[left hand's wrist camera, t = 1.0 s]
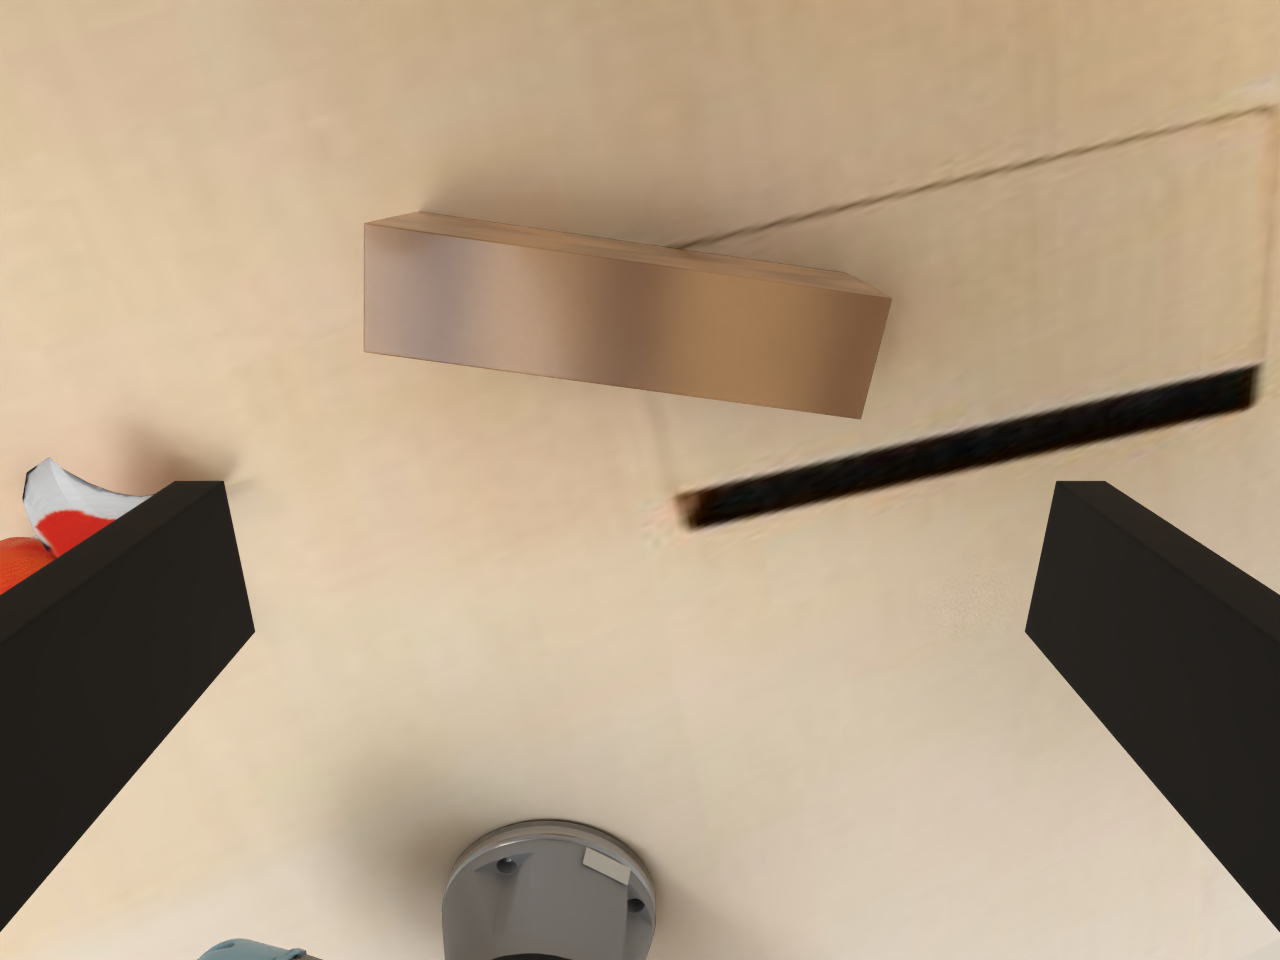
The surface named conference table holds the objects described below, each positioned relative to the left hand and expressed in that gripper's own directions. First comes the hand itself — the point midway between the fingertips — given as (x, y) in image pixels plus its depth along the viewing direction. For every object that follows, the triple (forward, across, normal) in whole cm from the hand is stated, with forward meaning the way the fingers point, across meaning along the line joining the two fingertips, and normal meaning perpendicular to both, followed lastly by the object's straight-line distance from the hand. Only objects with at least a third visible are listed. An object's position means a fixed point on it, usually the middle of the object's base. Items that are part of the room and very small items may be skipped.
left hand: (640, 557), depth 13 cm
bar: (+30, +1, 0) cm, 30 cm away
